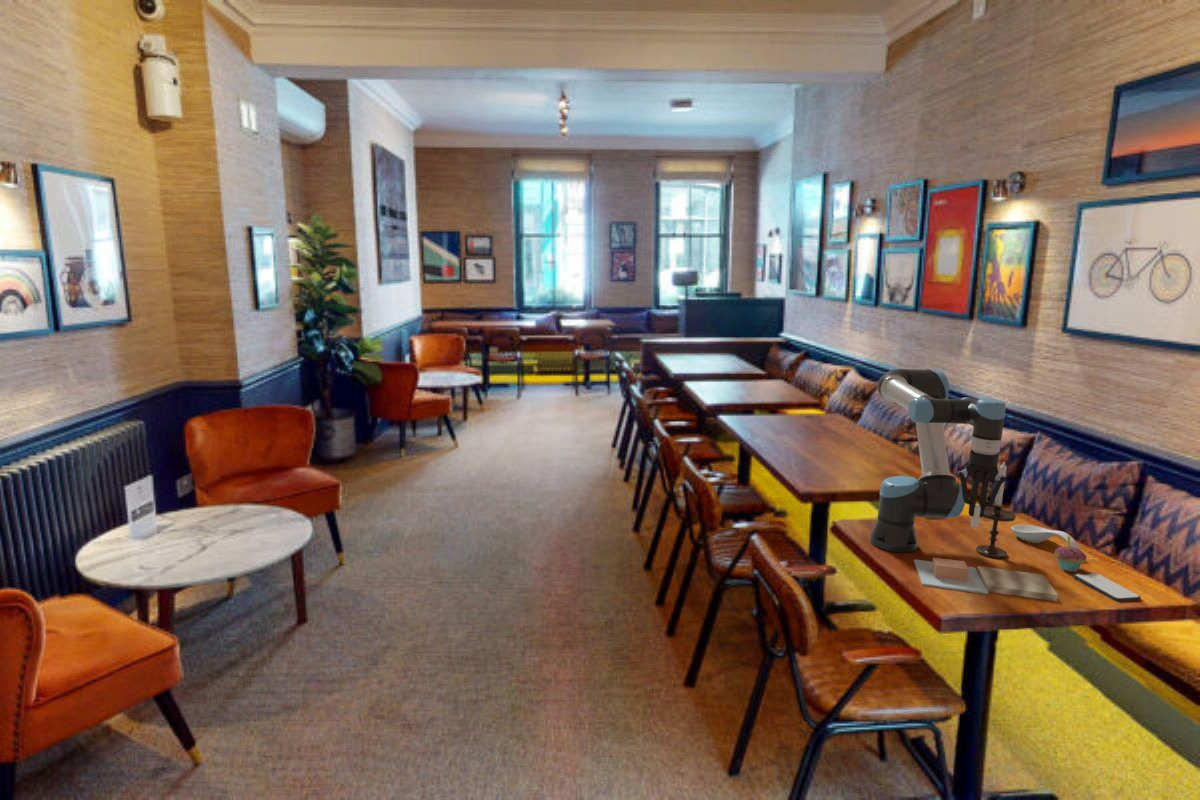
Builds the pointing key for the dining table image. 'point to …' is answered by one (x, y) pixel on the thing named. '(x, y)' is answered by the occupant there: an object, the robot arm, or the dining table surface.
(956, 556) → the dining table surface
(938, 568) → the pink block
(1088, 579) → the phone case
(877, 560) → the dining table surface
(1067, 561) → the cupcake
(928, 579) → the mat
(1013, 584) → the beige flat rectangular piece
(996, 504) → the candlestick
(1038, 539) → the spoon rest
